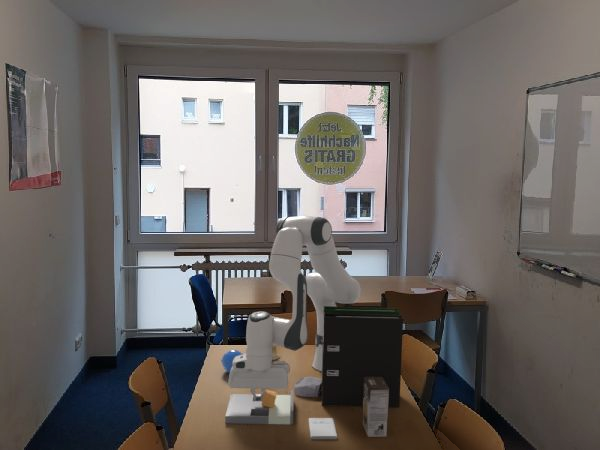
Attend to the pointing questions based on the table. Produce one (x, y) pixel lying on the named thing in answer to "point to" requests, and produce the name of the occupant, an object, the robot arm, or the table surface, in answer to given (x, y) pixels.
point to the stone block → (308, 386)
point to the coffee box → (375, 406)
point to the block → (269, 398)
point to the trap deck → (259, 410)
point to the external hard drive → (322, 428)
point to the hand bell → (274, 353)
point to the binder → (360, 353)
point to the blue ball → (229, 359)
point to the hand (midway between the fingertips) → (258, 400)
